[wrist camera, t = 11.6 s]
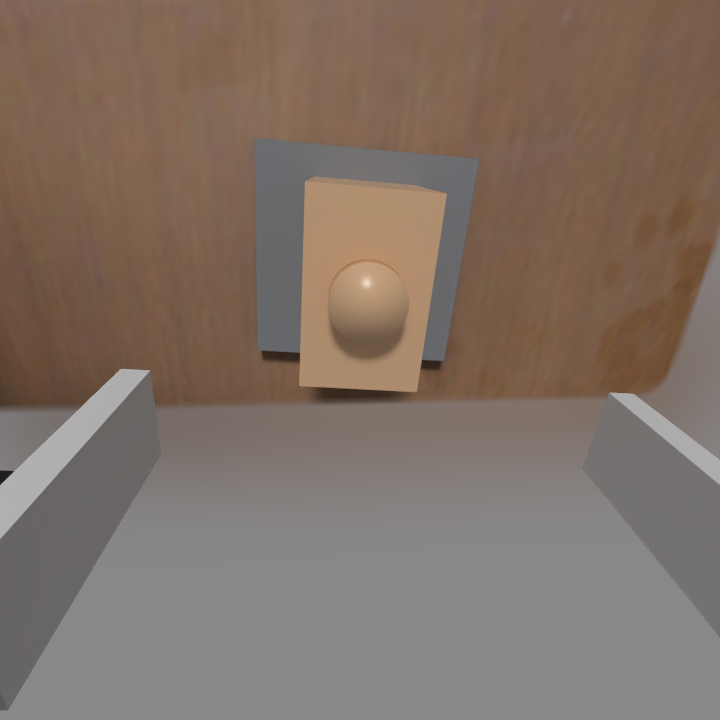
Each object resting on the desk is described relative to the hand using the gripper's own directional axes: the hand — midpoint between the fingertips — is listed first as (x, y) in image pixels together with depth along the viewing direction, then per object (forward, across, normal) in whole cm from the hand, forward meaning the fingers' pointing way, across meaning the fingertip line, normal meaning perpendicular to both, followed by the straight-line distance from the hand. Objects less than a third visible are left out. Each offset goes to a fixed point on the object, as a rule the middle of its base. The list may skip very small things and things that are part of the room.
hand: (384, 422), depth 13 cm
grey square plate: (+25, +1, 0) cm, 25 cm away
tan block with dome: (+23, 0, 0) cm, 23 cm away
